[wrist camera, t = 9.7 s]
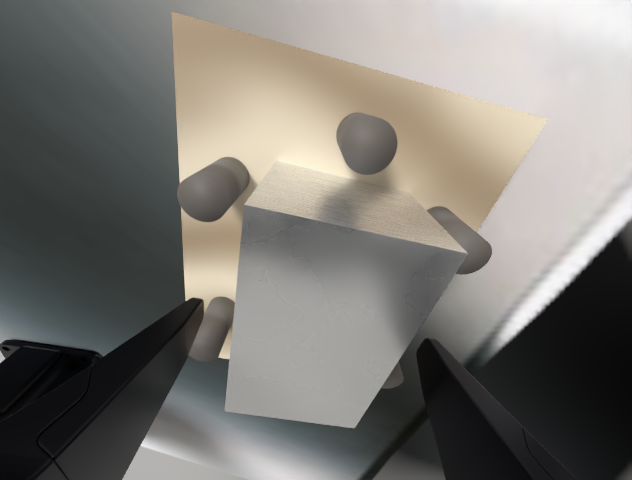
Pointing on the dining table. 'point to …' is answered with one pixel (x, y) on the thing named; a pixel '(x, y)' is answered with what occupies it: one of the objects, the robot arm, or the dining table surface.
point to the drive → (329, 293)
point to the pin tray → (320, 149)
